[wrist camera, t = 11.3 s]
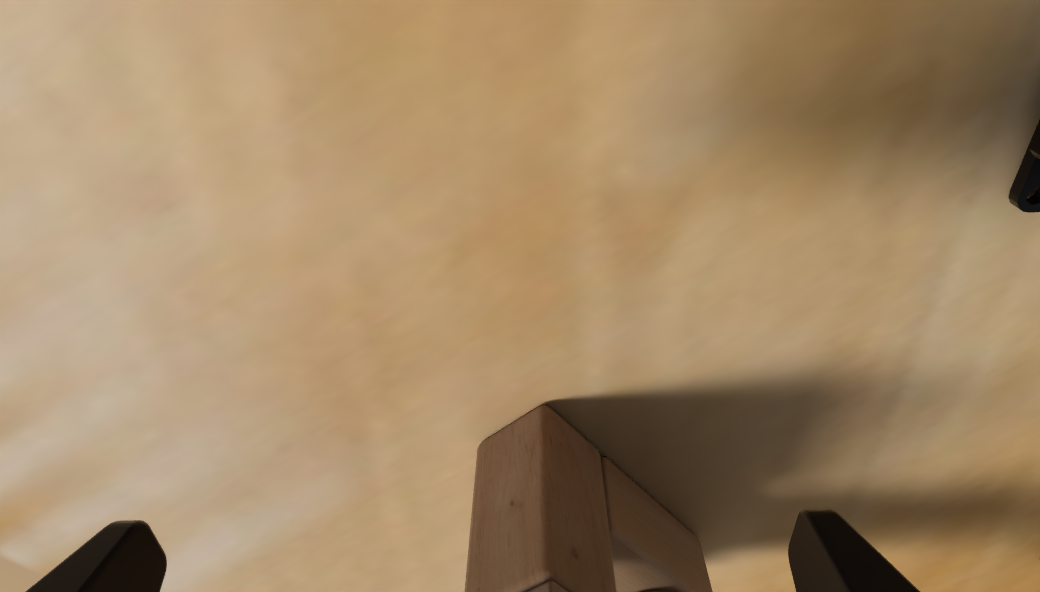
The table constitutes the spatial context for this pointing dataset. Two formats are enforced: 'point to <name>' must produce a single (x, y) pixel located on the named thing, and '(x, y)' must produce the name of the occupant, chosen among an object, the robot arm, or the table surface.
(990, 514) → the table surface
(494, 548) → the brown post on base
